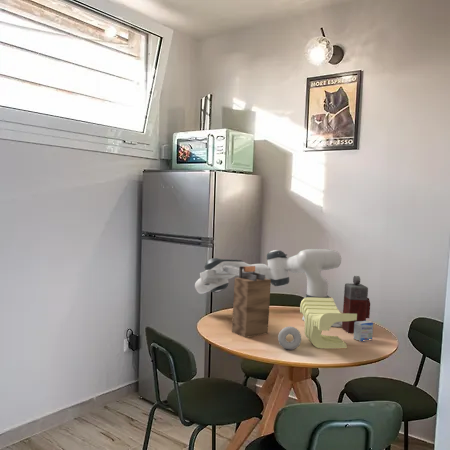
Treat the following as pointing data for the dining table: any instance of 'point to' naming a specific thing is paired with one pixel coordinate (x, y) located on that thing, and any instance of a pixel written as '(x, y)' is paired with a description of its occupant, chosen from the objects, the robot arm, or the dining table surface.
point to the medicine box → (363, 330)
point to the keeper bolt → (236, 270)
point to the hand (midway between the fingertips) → (228, 268)
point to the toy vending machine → (355, 303)
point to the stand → (251, 304)
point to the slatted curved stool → (323, 321)
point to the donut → (294, 342)
